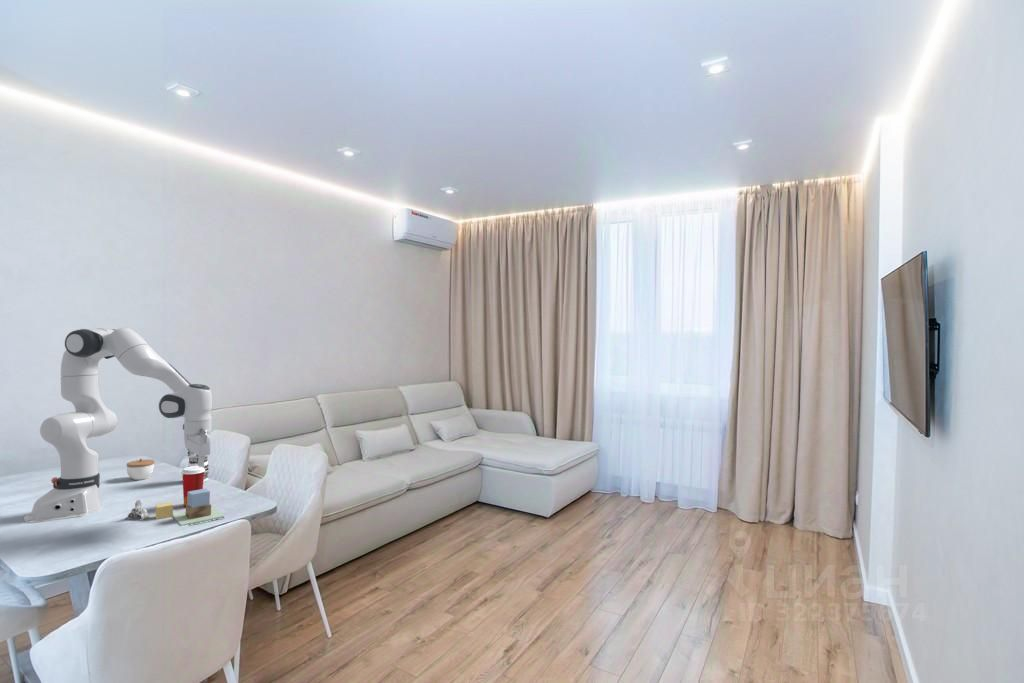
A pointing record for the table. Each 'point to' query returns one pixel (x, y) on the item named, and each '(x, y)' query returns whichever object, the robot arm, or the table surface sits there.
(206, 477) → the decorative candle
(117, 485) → the table surface
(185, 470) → the coffee cup
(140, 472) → the lidded jar
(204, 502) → the slate brick
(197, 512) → the base brick
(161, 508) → the ochre brick
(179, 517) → the sage board
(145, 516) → the grey lumpy mound
